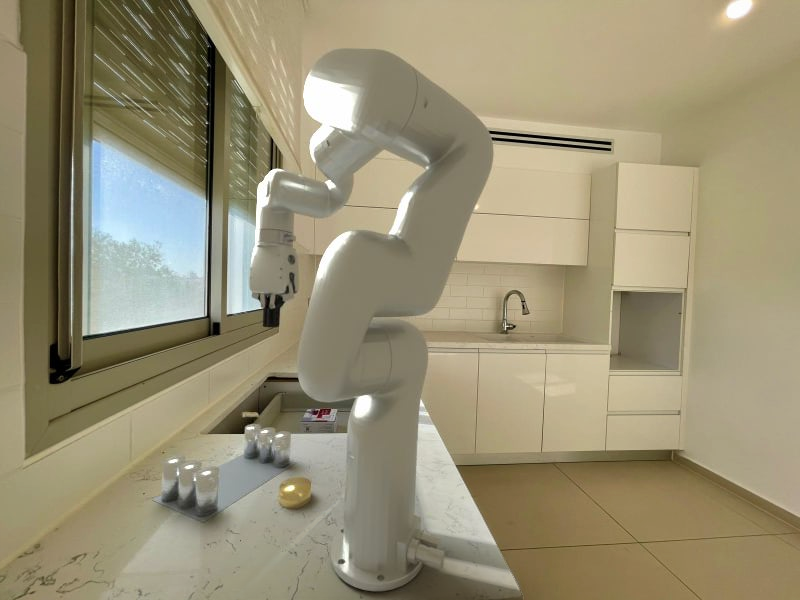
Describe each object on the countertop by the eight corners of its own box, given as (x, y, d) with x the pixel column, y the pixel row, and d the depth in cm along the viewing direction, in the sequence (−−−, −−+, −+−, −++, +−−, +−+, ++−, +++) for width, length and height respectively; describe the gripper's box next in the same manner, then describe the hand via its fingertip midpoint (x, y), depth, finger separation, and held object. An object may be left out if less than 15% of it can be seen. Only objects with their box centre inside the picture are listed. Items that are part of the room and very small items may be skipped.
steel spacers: (292, 462, 66) (294, 432, 66) (204, 519, 49) (205, 478, 49) (252, 451, 70) (253, 422, 70) (157, 498, 53) (158, 461, 53)
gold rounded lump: (316, 498, 56) (317, 480, 56) (298, 516, 51) (298, 497, 51) (292, 491, 58) (292, 474, 58) (271, 508, 53) (272, 489, 53)
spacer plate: (296, 465, 66) (296, 462, 66) (203, 526, 48) (203, 522, 48) (252, 452, 71) (252, 449, 71) (151, 503, 53) (151, 499, 53)
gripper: (314, 243, 71) (310, 328, 71) (261, 245, 77) (258, 323, 77) (290, 236, 64) (286, 330, 64) (234, 239, 70) (230, 325, 70)
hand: (271, 326), depth 71 cm, fingers closed
